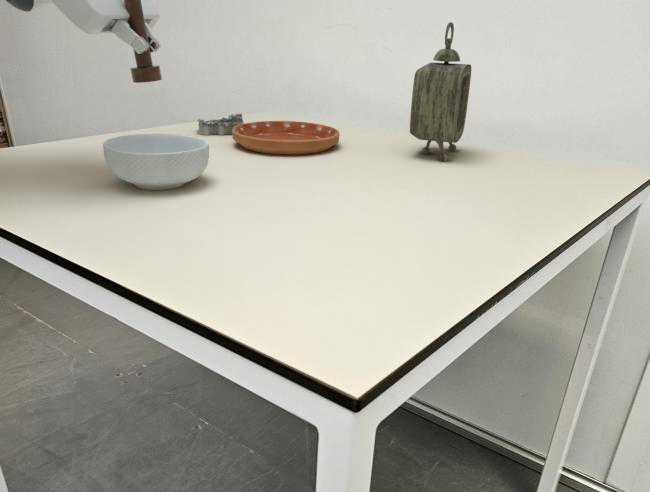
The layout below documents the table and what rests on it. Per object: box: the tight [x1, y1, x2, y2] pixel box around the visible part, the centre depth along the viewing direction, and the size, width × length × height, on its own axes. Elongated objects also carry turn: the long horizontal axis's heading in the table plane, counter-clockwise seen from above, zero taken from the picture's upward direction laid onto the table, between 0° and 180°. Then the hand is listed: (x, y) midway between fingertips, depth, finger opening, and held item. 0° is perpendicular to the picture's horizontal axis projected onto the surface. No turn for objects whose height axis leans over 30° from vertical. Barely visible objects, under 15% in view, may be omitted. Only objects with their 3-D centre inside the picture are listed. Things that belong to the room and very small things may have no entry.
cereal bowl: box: [102, 133, 210, 191], centre depth 99 cm, size 17×17×7 cm
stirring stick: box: [124, 0, 163, 84], centre depth 90 cm, size 4×4×15 cm
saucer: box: [231, 120, 340, 156], centre depth 130 cm, size 23×23×4 cm
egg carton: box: [197, 113, 245, 136], centre depth 141 cm, size 11×8×4 cm
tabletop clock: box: [409, 21, 472, 162], centre depth 120 cm, size 14×9×25 cm, turn 160°
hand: (150, 50), depth 91 cm, fingers closed on stirring stick, 2 cm apart
